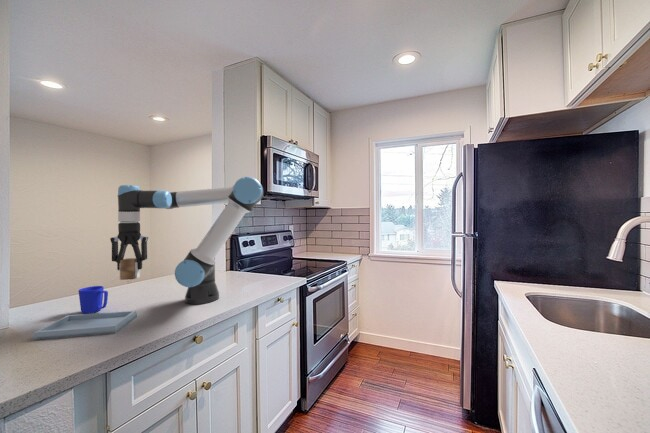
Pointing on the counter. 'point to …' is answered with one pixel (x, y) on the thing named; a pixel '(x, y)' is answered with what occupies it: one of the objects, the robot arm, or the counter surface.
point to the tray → (86, 325)
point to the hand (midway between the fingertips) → (130, 277)
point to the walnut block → (127, 268)
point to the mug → (92, 299)
